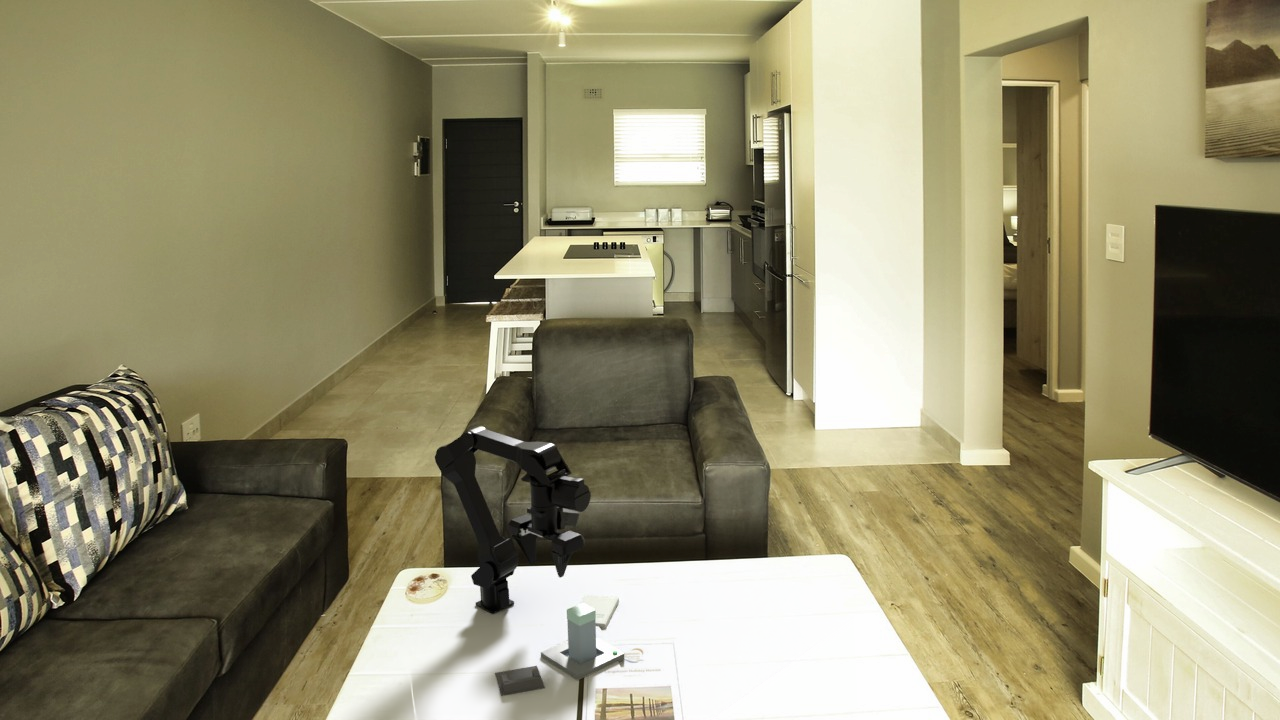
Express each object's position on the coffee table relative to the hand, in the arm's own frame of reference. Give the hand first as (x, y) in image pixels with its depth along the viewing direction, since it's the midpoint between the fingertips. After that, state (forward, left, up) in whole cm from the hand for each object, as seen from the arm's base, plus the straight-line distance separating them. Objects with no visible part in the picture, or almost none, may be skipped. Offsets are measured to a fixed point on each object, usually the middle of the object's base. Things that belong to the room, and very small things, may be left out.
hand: (546, 570), depth 202 cm
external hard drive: (+5, +9, -13) cm, 17 cm away
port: (+17, -6, -12) cm, 22 cm away
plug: (+17, -6, -12) cm, 22 cm away
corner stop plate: (+14, -20, -12) cm, 27 cm away
